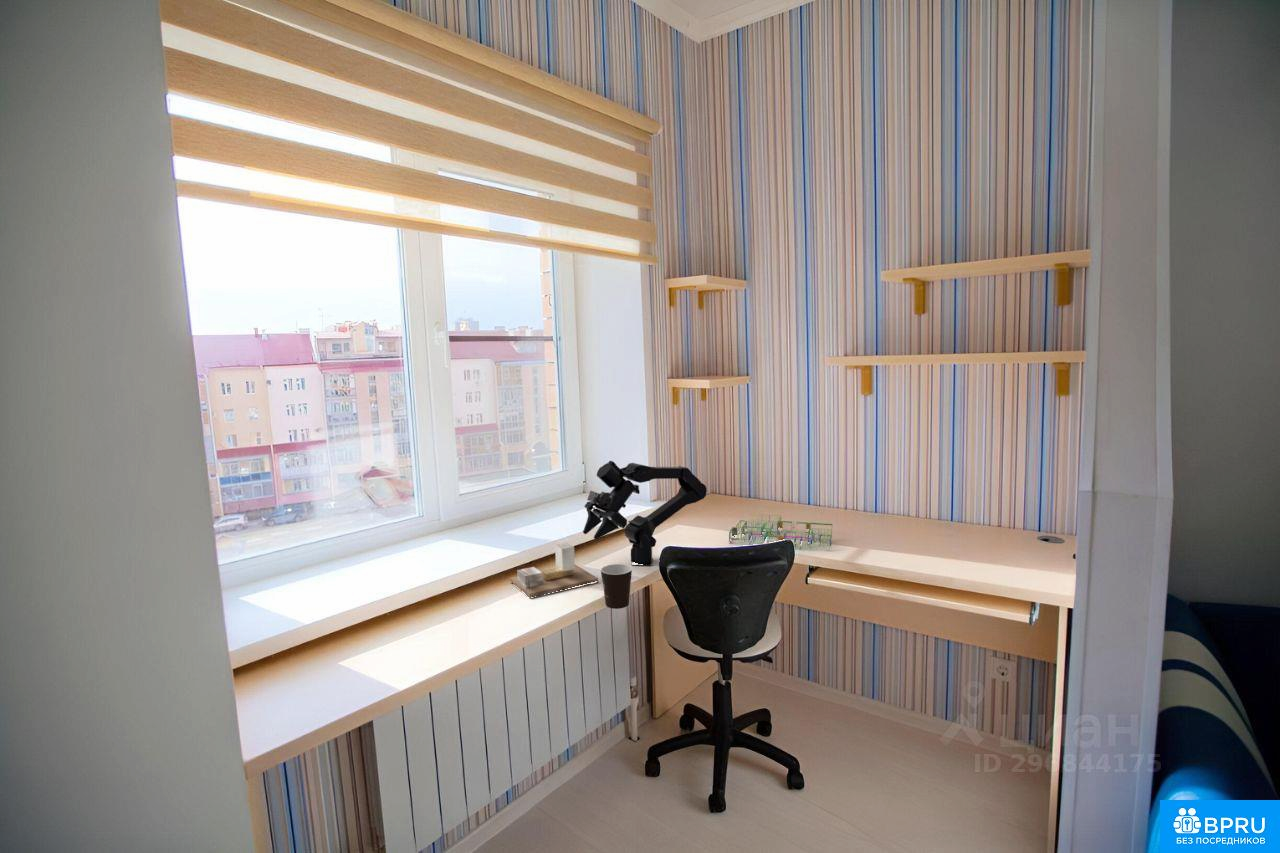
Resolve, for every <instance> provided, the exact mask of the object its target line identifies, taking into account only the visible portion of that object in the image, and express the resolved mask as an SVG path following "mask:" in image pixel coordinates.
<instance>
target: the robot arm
mask: <svg viewBox="0 0 1280 853" xmlns="http://www.w3.org/2000/svg"><path fill="white" fill-rule="evenodd" d="M596 477H597V478H598V479H600V481H601V482H603V483H604V484H605V485H606V486H607V487H608V488H609V489H610V488H611V489H612V490H611V491H610V492H605V491H601V492H600V493H599V492H596V491H593V490H590V491H589V494H588V497H587V499H586V500H587V502H586V503H585V505H584V508H585V509H586V512H587V519H586V522H585V525H584V529H583V531H582V533H583V534H584V535H587V534H589V532H591V531H592V530H593V529H594V528H597V526H598V525H599V524H600V525H599V527H598V528H597V531H596V532H595V534H594V535H593V538H594V540H598V539H601V537H604V536H606V535H607V534H609V533H610V532H613V531H615V530H619V529H620V528H621V529H624V534H625V537H626V538H627V539H628V541H629V544H632V547H631V549H630V562H631V563H632V562H635V563H638V564H643V565H651V564H652V565H653V562H654V558H653V548H654V547H656V544H657V538H655V537H654V536H653V535H654V532H655V530H656V529H657V527H659V526H660V525H662V524H663V523H664V522H666V521H667V520H668V519H670V518H672V517H673V515H675V514H676V513H677V512H679V511H681V510H682V509H683V508H684V507H686V506H687V505H691V504H696V503H697V502H700V501H701V500H704V499H705V498H706V496H707V490H708V489H707V486H706V484H704V483H702V482H701V480H700V479H699V478H698V477H697V476H696V475H694V474H693V472H692V471H691V470H690V469H689V468H688V467H685V466H680V465H679V466H678V465H677V466H648V465H645V464H640V463H635V462H631V463H628V464H627V465H626V466H625V467H622V468H620V467H619V466H617V464H616V463H615V462H614V461H612V460H609V461H608V462H607V463H604V464H603V465H602V466H601V467H599V469H598V470H597V472H596ZM625 478H626V479H625ZM659 479H662V480H665V479H666V480H667V479H668V480H669V479H670V480H672V479H673V480H674V479H677V482H678V485H679V486H680V487H679V490H678V492H677V493H676V495H674V496H673V497H672V498H670V499H668V500H667V501H666V502H665V503H663V504H662V505H661V506H659V507H658V508H657V509H655V510H654V511H652V512H651V513H650V514H649V515H646V516H641V515H636V516H635V517H634V518H633V519H631V520H627V519H628V518H626V517H624V515H622V513H620V511H621V509H622V508H623V509H625V508H626V507H627V504H626V502H627V501H628V499H629V498H630V497H631V496H632V494H633V493H634V494H637V495H640V492H641V491H640V485H638V484H639V483H640V484H642V483H646V482H650V481H652V480H659ZM633 482H636V483H638V484H634V483H633ZM652 565H651V566H652Z"/></svg>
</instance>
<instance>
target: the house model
mask: <svg viewBox="0 0 1280 853" xmlns="http://www.w3.org/2000/svg"><path fill="white" fill-rule="evenodd" d="M754 515H755V516H757V515H758V516H759V521H758V520H745V521H744V522H743V523H744V524H743V525H742V520H739V522H738V523H737V524H736V526H735V527H733V526H732V528H731V529H730V531H729V535H728V538H729V539H728V542H729V541H730V539H731V540H733V539H732V536H734V535H737V539H734V542H736V541H738V540H739V541H740V542H741V541H742V540H744V541H746V538H745V539H744V538H743V539H742V534H744V535H745V536H748V541H749V540H750V538H751V536H752V539H754V541H756V537H757V538H758V539H759V538H760V539H761V537H762V538H763V542H764V541H765V539H766V537H767V536H769V538H770V537H771V538H773V537H774V538H777V537H778V540H783V539H785V540H786V539H787V540H793V544H794V543H795V542H796V544H797V540H798V545H799V544H801V541H802V542H803V541H805V546H806V545H807V546H808V545H811V544H812V540H813V541H814V542H815V540H814V539H816V540H819V542H820V545H822V547H825V546H826V547H828V544H826V545H825V543H826V541H825V542H824V541H823V540H825V538H822V540H821V536H822V537H829V538H827V541H829V547H830V546H831V547H832V542H831V538H832V537H833V535H832V534H833V528H831V529H829V528H820V530H821V531H820V532H816V530H818V528H813V527H812V526H811V525H821V526H833V523H824V522H823V523H820V522H803V521H796V524H804V525H806V526H805V530H806V529H809V531H808V532H806V531H804V533H802V532H803V531H800V532H801V533H800V534H801V535H800V534H797V531H795V526H791V529H792V530H784V531H783V532H782V531H781V532H780V531H779V530H778V528H779V527H780V528H783V527H784V526H783V525H784V524H793V521H792V520H791V521H788V520H782V515H779V514H778V515H776V514H765V519H762V516H764V514H761V513H759V514H757V513H754ZM771 517H775V523H776V527H774V521H771ZM776 517H777V518H776ZM760 518H761V520H760ZM776 519H777V520H776ZM765 520H768V521H765ZM754 522H755V523H754ZM761 522H763V523H762V524H761ZM748 523H752V525H751V526H750V525H748ZM757 523H758V524H761V526H757ZM769 523H770V526H769V527H766V524H769ZM783 523H784V524H783ZM754 525H755V526H754ZM740 528H741V532H740ZM753 528H754V529H755V528H756V529H759V532H758V531H756V533H755V530H754V531H753ZM745 529H747V530H750V531H749V532H746V533H745ZM764 529H765V531H763V530H764ZM772 529H773V531H772ZM783 529H784V528H783ZM793 529H794V531H793ZM810 530H811V534H810ZM822 530H823V531H826V530H827V532H824V533H823V532H822ZM738 531H739V533H738ZM813 531H815V532H813ZM828 531H830V534H828ZM762 532H765V533H764V534H762ZM771 532H772V533H773V534H771ZM791 532H792V533H791ZM793 532H794V533H793ZM782 533H783V534H782ZM806 533H808V534H807V537H806V536H803V534H806ZM770 534H771V535H770ZM780 534H781V535H780ZM787 534H792V536H791V535H787ZM739 535H740V537H741V538H740V539H739ZM760 535H762V536H760ZM809 535H810V538H809ZM815 535H816V538H815ZM818 535H819V537H817V536H818ZM734 537H735V536H734ZM753 537H754V538H753ZM803 538H805V539H803ZM809 540H811V541H809ZM822 541H823V544H822ZM742 542H743V541H742ZM808 542H809V544H808ZM796 544H795V545H796ZM820 545H819V546H820ZM796 546H797V545H796Z"/></svg>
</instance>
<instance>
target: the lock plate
mask: <svg viewBox="0 0 1280 853" xmlns="http://www.w3.org/2000/svg"><path fill="white" fill-rule="evenodd" d="M555 568H556V567H555ZM555 568H553V569H555ZM550 569H551V568H549V569H548V570H550ZM546 570H547V569H545V570H541V571H540V570H539V569H538V568H536V567H534V566H532V567H531V566H530V567H526V568H521V569H517V570H516V573H517V576H511V577H509V582H510V581H511V582H512V583H513V584H514V585H515V586H517V587H518V588H519V589H520V590H521V591H523V592H524V593H525V594H526V595H527V596H528V597H530V598H531V597H535V596H540V597H542V596H541V595H544V594H548V593H552V592H556V591H560V590H565V589H568V588H572V587H575V586H579V585H583V584H587V583H591V582H595V581H598V582H599V577H596V576H595V575H594V574H592V573H590V572H588V571H587V570H585V569H583V568H582V567H580V566H579V565H576V564H575V569H573V573H574V575H569V576H564V577H560V578H555V579H551V580H545V579H544V578H542V571H546ZM515 586H514V587H515ZM520 590H519V591H520ZM521 591H520V592H521ZM525 594H524V595H525ZM526 595H525V596H526ZM527 596H526V597H527ZM544 596H545V595H544ZM528 597H527V598H528ZM530 598H529V599H530ZM531 599H532V598H531Z"/></svg>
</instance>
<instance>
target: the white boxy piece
mask: <svg viewBox="0 0 1280 853" xmlns="http://www.w3.org/2000/svg"><path fill="white" fill-rule="evenodd" d="M554 548H555V551H554V552H555V554H554V555H555V569H554V568H549V569H550V570H549V569H545V570H546V571H544V570H541V571H542V578H544V579H545V580H551V579H555V578H560V577H564V576H569V575H574V573H573V569H575V565H576V564H575V546H574V545H572V544H570V543H568V542H566V543H565V542H564V543H560V544H555V545H554Z"/></svg>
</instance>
